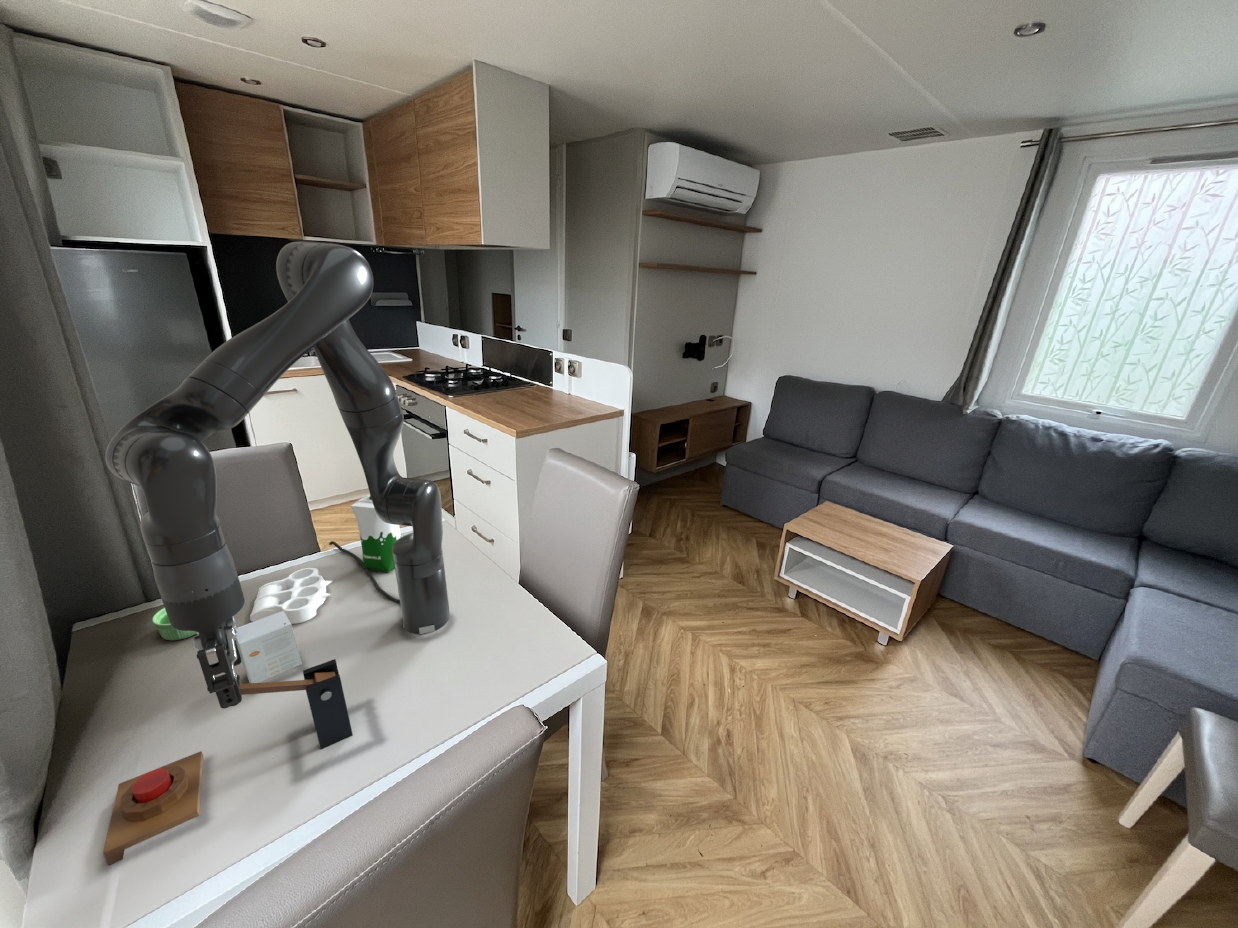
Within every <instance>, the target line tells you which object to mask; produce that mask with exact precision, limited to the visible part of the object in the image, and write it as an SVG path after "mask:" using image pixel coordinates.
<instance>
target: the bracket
mask: <svg viewBox="0 0 1238 928" xmlns="http://www.w3.org/2000/svg"><path fill="white" fill-rule="evenodd" d="M323 672H335V675H336V676H333V677H331V678H328V679H325V680H323V681H320V682H317V683H315V684H312V685H309V686H307V687H306V690H305V692H306V697H307V700H308V701H307V702H308V704H309V709H310V713H311V717H312V721H313V724H314V729H315V732H316V736H317V740H318V744H319V748H320V749H319V750H324V749H326V748H328V747H331V746H333V745H335V744H337V743H339V742H341V741H344V740H346V739H348V738H351V737H352V736H354V735H353V734H354V733H353V730H352V725H351V722H350V716H349V712H348V707H347V701H346V697H345V693H344V689H343V684H342V679H341V675H340V673H339V669H338V664H337V660H336V659H335V658H334V659H332V660H331V659H330V660H327V661H324V662H323V663H320V664H317V665H314V666H311V667H308V668H305V669H303V670H302V675H303V680H310V679H313V676H314V674H315V673H323Z"/></svg>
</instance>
